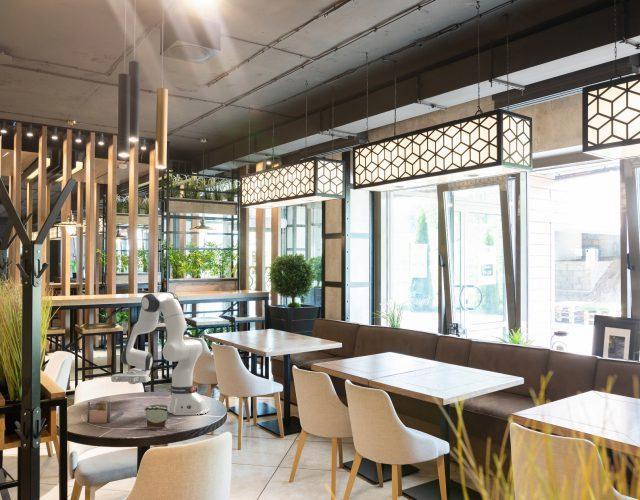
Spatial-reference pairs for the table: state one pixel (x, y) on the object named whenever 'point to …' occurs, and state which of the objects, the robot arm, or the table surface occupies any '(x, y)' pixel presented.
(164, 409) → the food container
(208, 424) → the table surface
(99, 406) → the tan upright block
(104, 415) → the bay
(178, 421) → the table surface
